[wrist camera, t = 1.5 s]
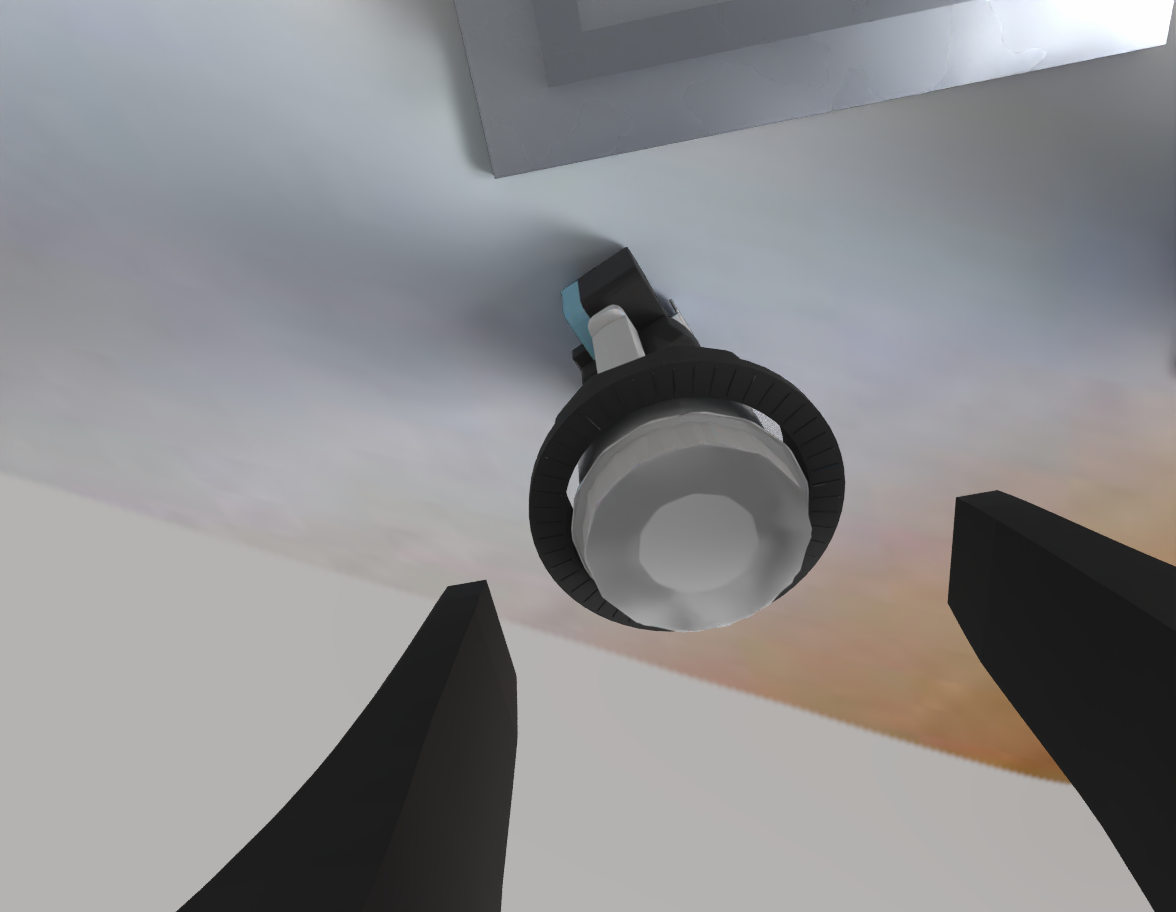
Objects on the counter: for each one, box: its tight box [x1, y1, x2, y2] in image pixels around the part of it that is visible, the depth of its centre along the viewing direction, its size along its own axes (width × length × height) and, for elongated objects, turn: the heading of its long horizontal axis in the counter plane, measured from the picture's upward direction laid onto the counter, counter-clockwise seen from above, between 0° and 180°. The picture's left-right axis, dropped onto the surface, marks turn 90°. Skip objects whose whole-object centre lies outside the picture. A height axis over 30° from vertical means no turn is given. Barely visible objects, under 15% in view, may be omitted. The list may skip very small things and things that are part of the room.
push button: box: [529, 247, 845, 632], centre depth 16 cm, size 7×5×10 cm
